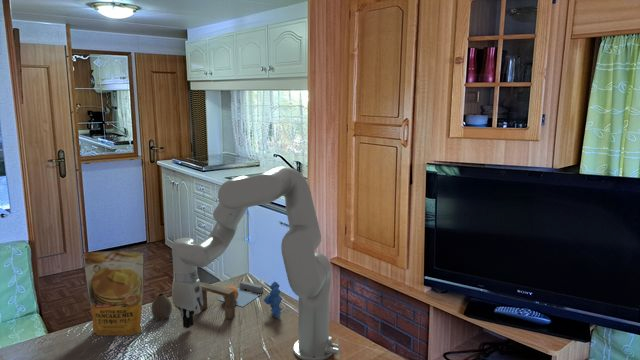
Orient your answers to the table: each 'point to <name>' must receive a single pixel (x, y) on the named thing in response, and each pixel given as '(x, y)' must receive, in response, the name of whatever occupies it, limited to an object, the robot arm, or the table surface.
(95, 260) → the pancake mix bag
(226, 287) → the ball
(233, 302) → the bridge
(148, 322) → the table surface
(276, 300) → the blue lumpy cluster
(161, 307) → the vase
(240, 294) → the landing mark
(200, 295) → the robot arm
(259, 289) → the stopper wall
